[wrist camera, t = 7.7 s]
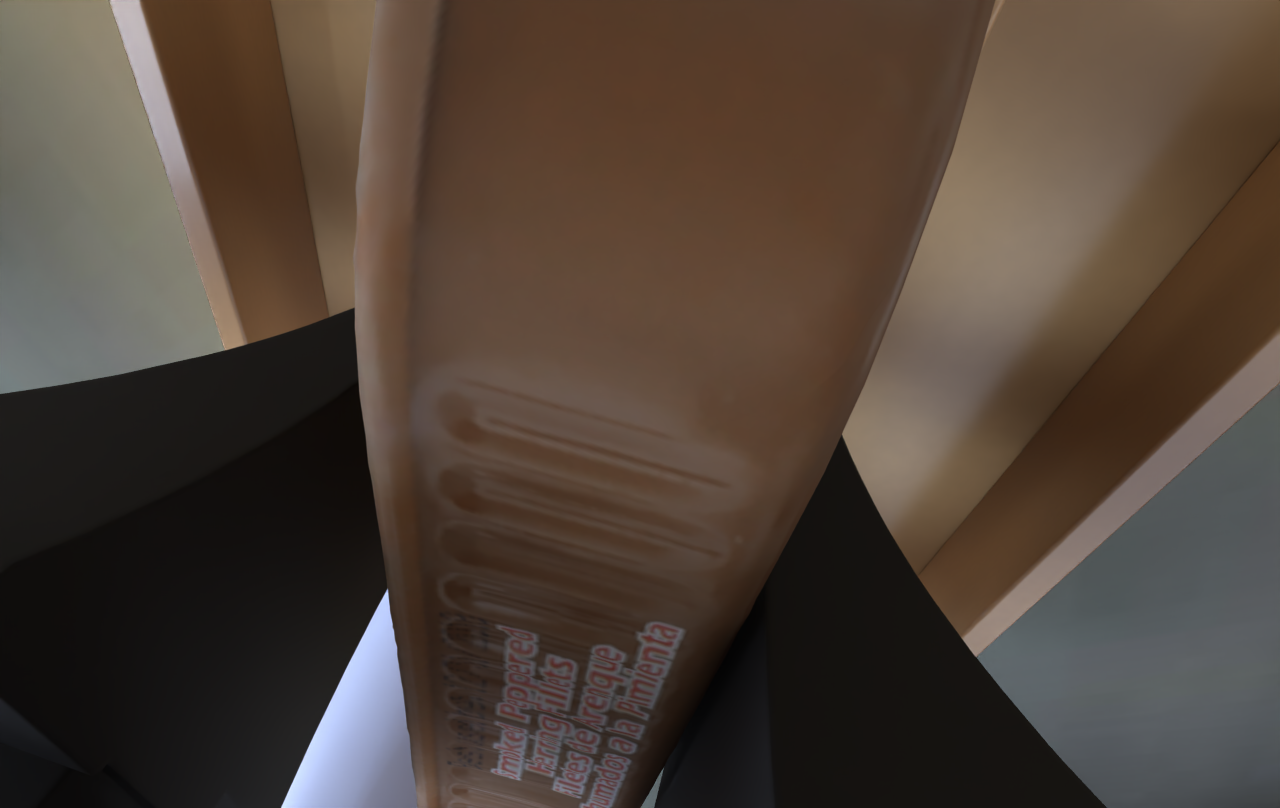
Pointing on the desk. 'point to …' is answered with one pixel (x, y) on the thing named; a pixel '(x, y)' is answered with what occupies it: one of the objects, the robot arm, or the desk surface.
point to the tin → (619, 344)
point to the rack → (935, 285)
